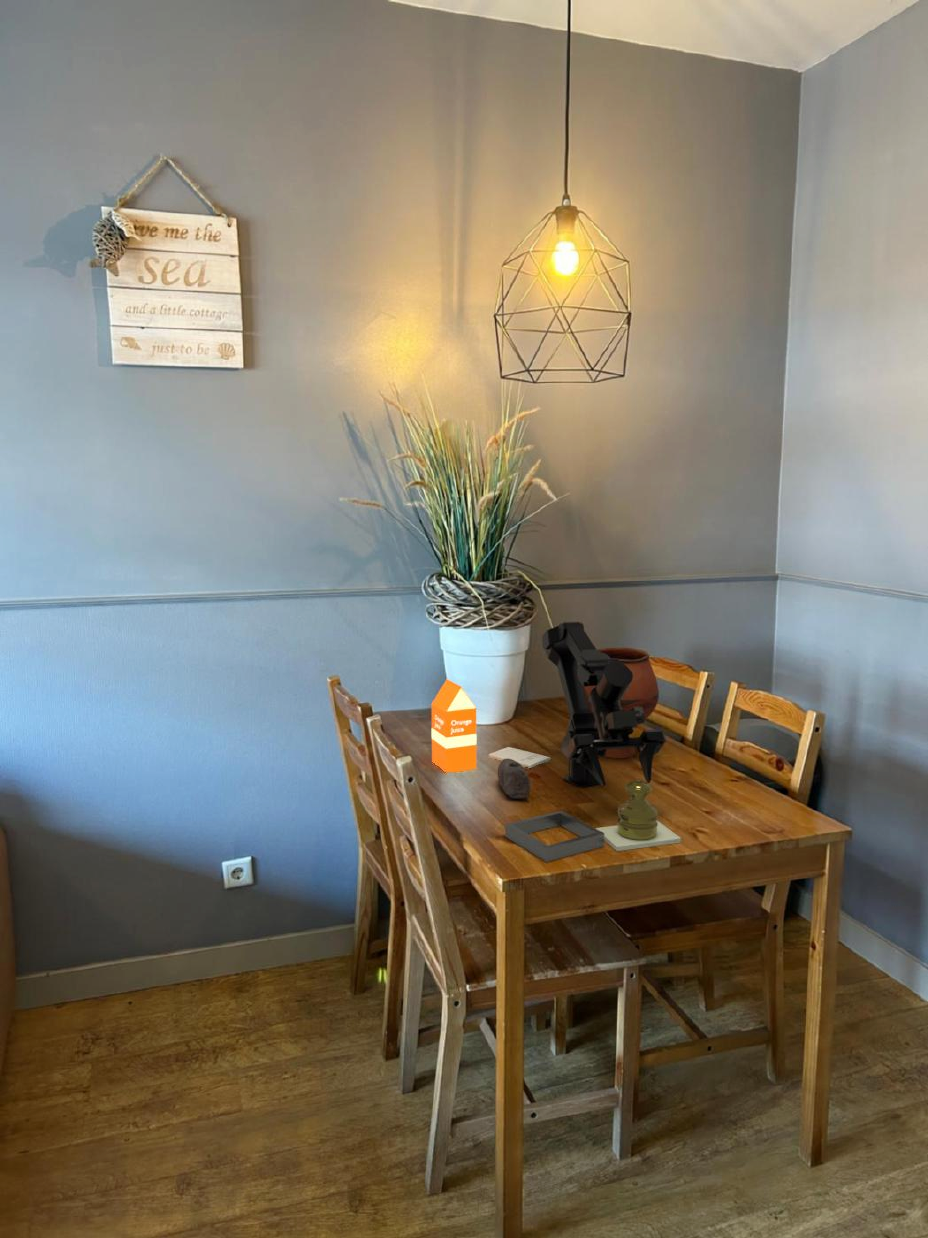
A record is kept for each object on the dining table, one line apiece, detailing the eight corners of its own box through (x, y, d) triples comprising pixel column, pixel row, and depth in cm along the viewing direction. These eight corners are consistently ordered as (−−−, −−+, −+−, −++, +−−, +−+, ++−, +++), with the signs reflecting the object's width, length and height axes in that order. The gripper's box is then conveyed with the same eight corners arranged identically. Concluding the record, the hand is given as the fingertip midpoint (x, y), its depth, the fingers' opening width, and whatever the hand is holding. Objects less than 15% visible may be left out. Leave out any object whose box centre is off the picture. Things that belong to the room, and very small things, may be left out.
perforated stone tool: (492, 780, 196) (492, 750, 195) (515, 779, 197) (515, 749, 196) (507, 805, 181) (507, 772, 180) (532, 803, 182) (532, 771, 181)
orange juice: (445, 774, 200) (445, 688, 197) (431, 763, 208) (430, 680, 205) (477, 769, 203) (477, 685, 200) (461, 758, 211) (461, 677, 208)
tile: (616, 851, 158) (617, 847, 158) (595, 832, 167) (595, 828, 167) (681, 842, 162) (681, 838, 162) (656, 824, 171) (656, 820, 171)
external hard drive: (509, 752, 218) (550, 762, 210) (488, 760, 212) (530, 771, 204) (509, 746, 218) (550, 756, 210) (488, 754, 211) (530, 764, 204)
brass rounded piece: (642, 823, 169) (644, 773, 168) (665, 837, 163) (667, 785, 161) (609, 828, 167) (610, 778, 165) (631, 843, 160) (632, 790, 158)
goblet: (575, 763, 208) (576, 659, 204) (579, 739, 226) (581, 644, 222) (658, 767, 204) (661, 662, 200) (655, 743, 223) (658, 646, 219)
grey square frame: (505, 836, 165) (505, 824, 165) (560, 822, 172) (561, 810, 171) (546, 862, 154) (546, 848, 154) (604, 846, 161) (604, 833, 160)
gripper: (573, 694, 170) (590, 768, 161) (664, 690, 173) (686, 762, 164) (560, 722, 179) (576, 794, 170) (646, 717, 182) (667, 787, 173)
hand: (626, 784), depth 169 cm, fingers open, 9 cm apart
